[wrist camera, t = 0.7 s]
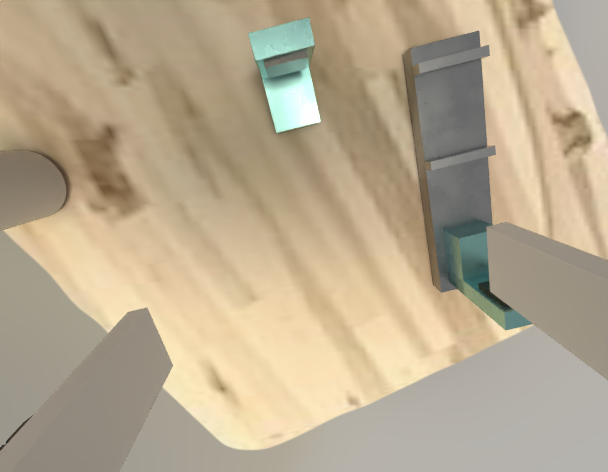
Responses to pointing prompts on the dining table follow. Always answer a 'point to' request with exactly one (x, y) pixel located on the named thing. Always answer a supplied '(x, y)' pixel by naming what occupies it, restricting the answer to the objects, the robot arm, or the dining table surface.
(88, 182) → the dining table surface
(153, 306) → the dining table surface
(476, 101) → the rail
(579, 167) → the dining table surface
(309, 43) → the teal block
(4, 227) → the beverage can
